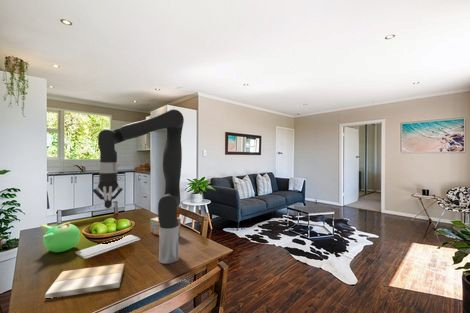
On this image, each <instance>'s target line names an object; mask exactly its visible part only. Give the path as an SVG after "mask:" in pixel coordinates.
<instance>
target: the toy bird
mask: <svg viewBox="0 0 470 313" xmlns="http://www.w3.org/2000/svg"><path fill="white" fill-rule="evenodd" d="M39 227H40V228H41V229H42V230H43V231H44V232H45V234H44V235H43V236H42V238H43V239H42V241H43V245H44V247H45V249H47V250H48V251H49V252H51V253H63V252H67V251H69V250H71V249H73V248H74V247H76V246H77V245H78V243H79V242H80V240H81V232H80V229H79V228H78V226H76V225H74V224H71V222H65V223H60V224H59V223H58V224H57V225H54V226H50V225H45V224H40V226H39Z"/></svg>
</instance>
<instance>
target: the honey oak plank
mask: <svg viewBox="0 0 470 313" xmlns="http://www.w3.org/2000/svg"><path fill="white" fill-rule="evenodd" d="M124 270H125V263H118V264H117V263H116V264H109V265H101V266H93V267H86V268H79V269H71V270H70V269H69V270H64V271H61V273H60V274H59V276H57V278H56V279H55V281H54V282H57V281H64V280H71V279H78V278H85V277H92V276H99V275H106V274H113V273H120V272H122V275H123V274H124Z"/></svg>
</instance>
